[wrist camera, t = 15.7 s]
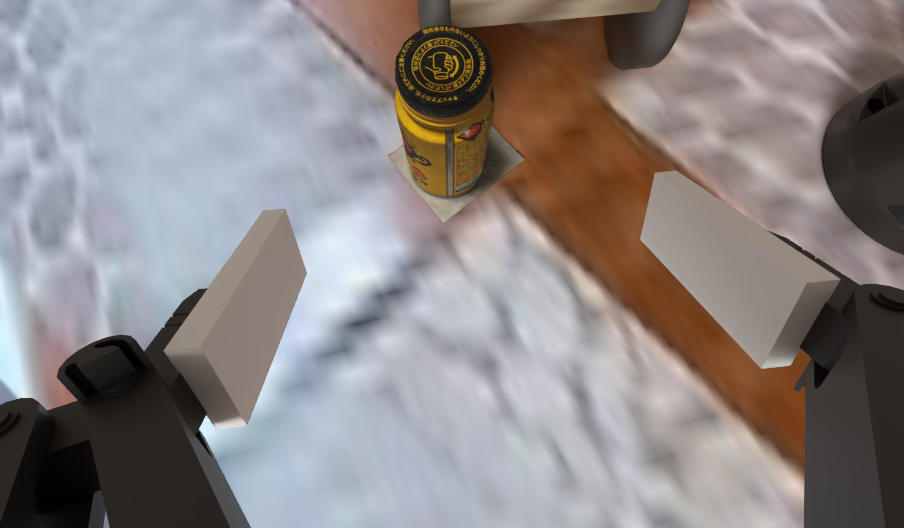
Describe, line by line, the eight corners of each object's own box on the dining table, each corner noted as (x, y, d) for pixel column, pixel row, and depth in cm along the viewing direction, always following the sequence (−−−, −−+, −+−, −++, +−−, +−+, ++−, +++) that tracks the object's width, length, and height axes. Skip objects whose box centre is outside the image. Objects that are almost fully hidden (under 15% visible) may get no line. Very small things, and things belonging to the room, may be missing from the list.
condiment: (387, 157, 33) (352, 53, 21) (467, 99, 34) (476, -31, 22) (443, 224, 32) (439, 153, 20) (523, 161, 33) (565, 59, 21)
